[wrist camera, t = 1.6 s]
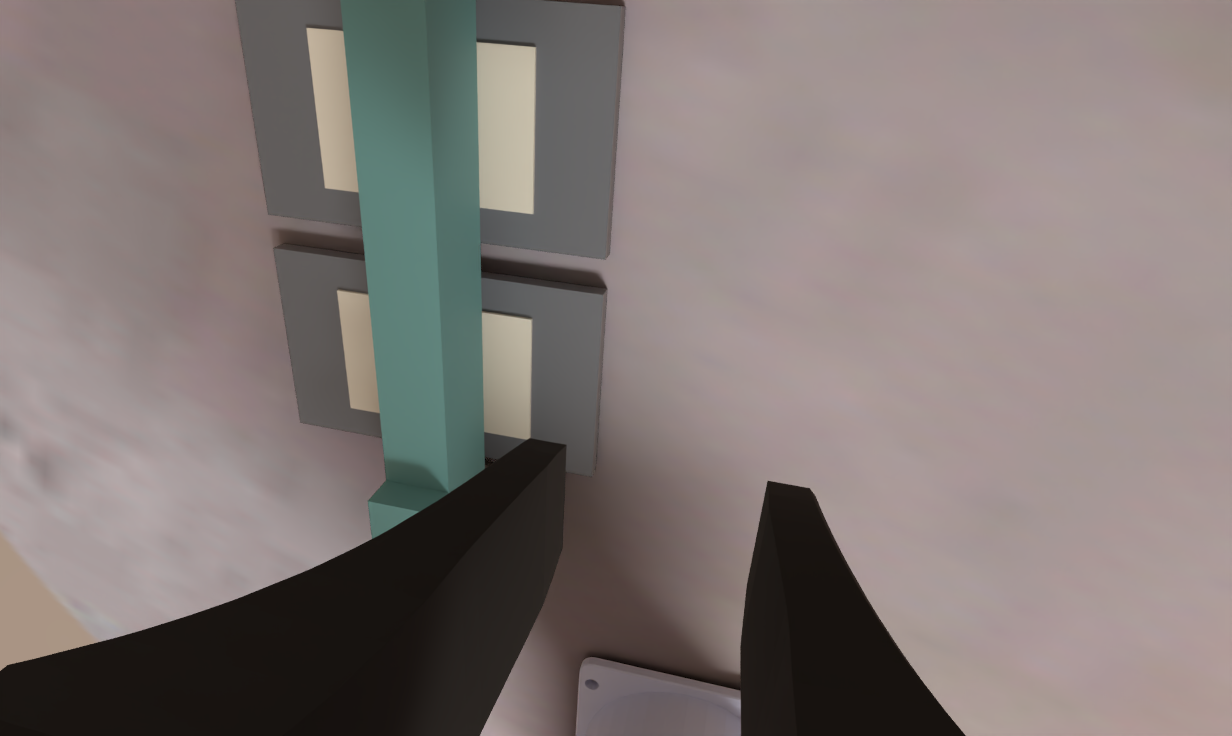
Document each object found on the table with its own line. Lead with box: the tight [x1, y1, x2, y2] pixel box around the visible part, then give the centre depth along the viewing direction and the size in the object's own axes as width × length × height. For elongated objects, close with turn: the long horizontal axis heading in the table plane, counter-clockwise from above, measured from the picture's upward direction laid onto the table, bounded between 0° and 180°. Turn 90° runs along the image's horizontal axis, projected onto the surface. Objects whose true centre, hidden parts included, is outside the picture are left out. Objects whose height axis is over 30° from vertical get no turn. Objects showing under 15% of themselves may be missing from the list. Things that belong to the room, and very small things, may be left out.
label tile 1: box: [235, 0, 626, 260], centre depth 18 cm, size 6×10×1 cm, turn 86°
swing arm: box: [340, 0, 485, 539], centre depth 18 cm, size 19×4×4 cm, turn 176°
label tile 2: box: [273, 244, 607, 477], centre depth 22 cm, size 6×10×1 cm, turn 86°
